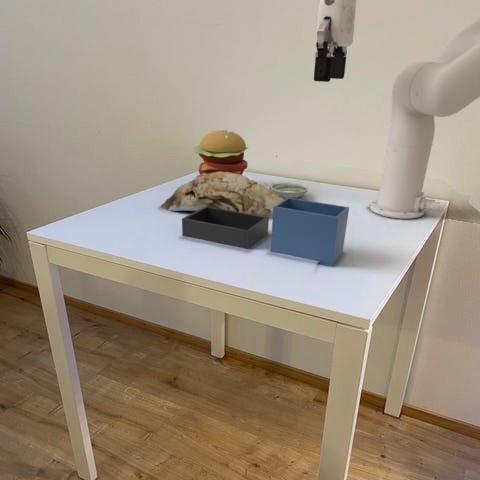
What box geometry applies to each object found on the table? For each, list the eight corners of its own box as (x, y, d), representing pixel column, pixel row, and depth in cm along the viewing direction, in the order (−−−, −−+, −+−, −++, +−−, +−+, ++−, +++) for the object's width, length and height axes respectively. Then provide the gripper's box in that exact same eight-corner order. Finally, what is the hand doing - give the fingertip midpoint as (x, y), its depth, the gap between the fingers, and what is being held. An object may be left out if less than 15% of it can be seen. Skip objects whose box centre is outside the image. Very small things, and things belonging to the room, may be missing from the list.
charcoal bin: (267, 236, 98) (268, 217, 96) (247, 251, 91) (248, 231, 89) (206, 224, 103) (206, 205, 101) (182, 237, 96) (181, 218, 94)
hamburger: (245, 199, 120) (247, 136, 113) (191, 196, 121) (190, 134, 113) (248, 182, 134) (250, 125, 127) (201, 180, 135) (200, 123, 127)
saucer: (306, 192, 127) (307, 183, 126) (308, 202, 119) (309, 193, 118) (270, 190, 128) (271, 181, 126) (269, 201, 119) (269, 191, 118)
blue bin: (342, 253, 91) (349, 207, 86) (331, 266, 86) (338, 217, 81) (284, 241, 95) (287, 197, 91) (270, 253, 90) (273, 206, 85)
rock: (172, 160, 117) (293, 162, 111) (177, 198, 123) (293, 201, 116) (147, 182, 105) (283, 185, 98) (154, 223, 110) (283, 229, 104)
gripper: (347, -32, 79) (335, 83, 87) (371, -21, 92) (358, 78, 101) (304, -31, 81) (296, 81, 90) (333, -20, 95) (323, 76, 104)
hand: (329, 79), depth 95 cm, fingers open, 9 cm apart
